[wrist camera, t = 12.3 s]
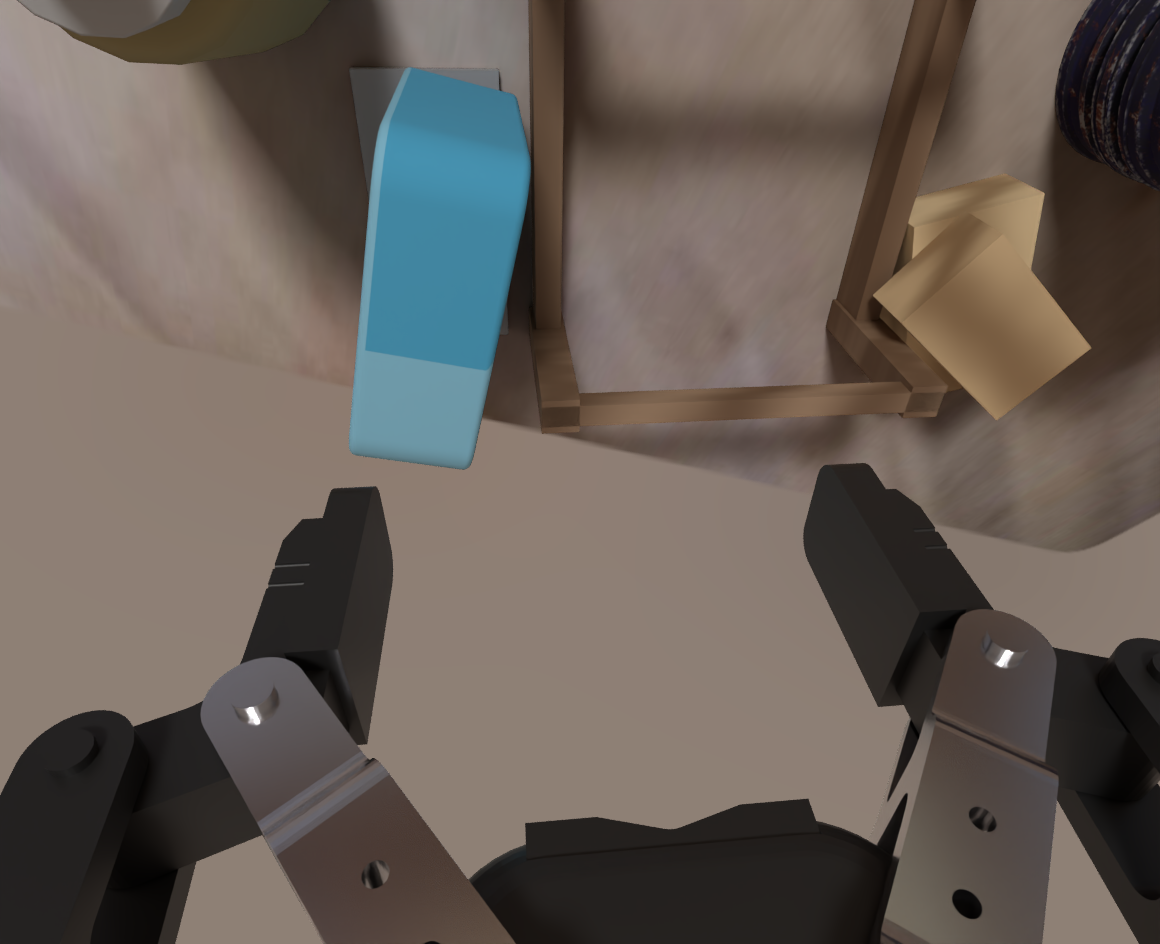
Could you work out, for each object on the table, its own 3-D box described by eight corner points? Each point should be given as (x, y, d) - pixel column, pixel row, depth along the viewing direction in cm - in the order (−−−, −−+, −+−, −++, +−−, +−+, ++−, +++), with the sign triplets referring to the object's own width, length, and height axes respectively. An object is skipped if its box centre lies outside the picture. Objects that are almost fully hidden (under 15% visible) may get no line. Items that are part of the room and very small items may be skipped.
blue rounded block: (469, 341, 37) (467, 488, 28) (379, 325, 36) (345, 472, 27) (517, 88, 30) (535, 168, 21) (407, 58, 29) (374, 130, 20)
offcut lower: (1000, 171, 36) (1044, 193, 33) (976, 345, 42) (1011, 376, 39) (880, 203, 36) (914, 227, 33) (874, 371, 42) (901, 403, 39)
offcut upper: (965, 210, 33) (1003, 233, 31) (1052, 320, 37) (1091, 348, 35) (872, 295, 35) (901, 323, 33) (965, 389, 39) (996, 420, 37)
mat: (498, 69, 30) (498, 70, 30) (508, 330, 37) (508, 334, 37) (350, 67, 29) (348, 68, 29) (390, 334, 37) (389, 337, 36)
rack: (977, -109, 28) (1145, -115, 21) (853, 326, 40) (935, 416, 32) (521, -127, 26) (538, -141, 19) (529, 335, 38) (541, 433, 31)
